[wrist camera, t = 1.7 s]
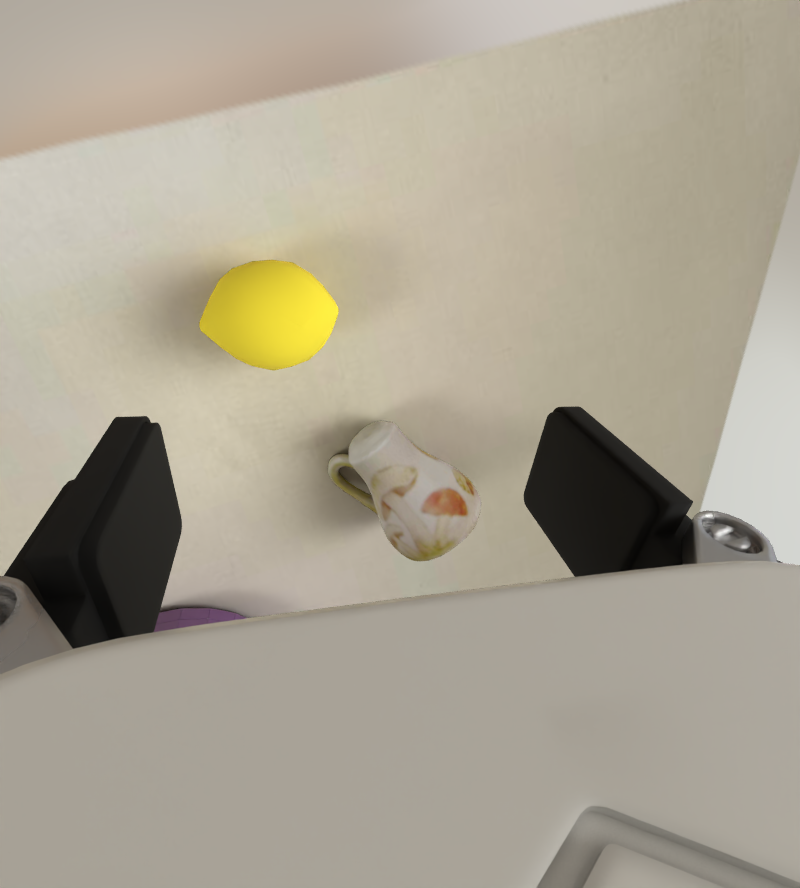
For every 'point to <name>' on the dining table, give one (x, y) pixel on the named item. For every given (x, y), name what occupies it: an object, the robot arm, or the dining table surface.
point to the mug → (409, 492)
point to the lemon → (269, 314)
